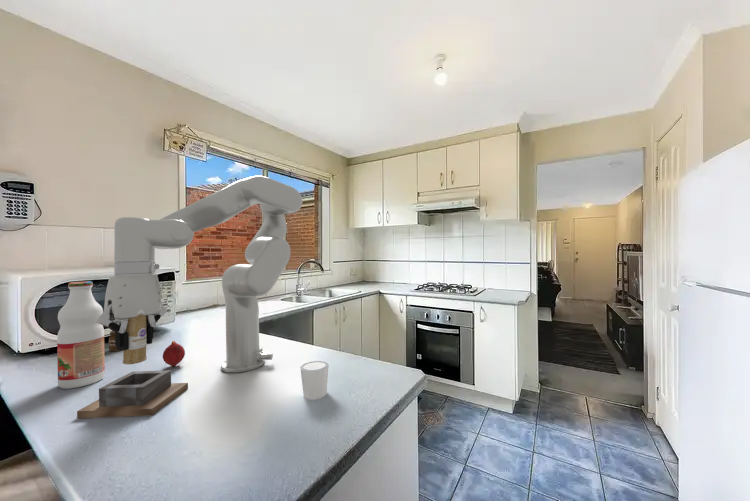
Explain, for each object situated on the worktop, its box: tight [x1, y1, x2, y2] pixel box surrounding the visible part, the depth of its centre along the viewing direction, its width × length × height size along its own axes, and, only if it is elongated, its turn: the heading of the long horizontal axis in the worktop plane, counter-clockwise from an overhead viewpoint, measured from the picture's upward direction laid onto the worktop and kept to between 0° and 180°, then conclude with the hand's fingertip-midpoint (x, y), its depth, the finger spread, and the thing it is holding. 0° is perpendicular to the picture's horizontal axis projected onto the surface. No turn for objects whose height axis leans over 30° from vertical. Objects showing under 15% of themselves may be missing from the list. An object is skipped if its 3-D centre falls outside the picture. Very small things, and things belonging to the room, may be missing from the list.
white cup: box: [300, 360, 330, 401], centre depth 74 cm, size 7×7×7 cm
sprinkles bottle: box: [122, 310, 148, 365], centre depth 71 cm, size 5×5×14 cm
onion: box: [162, 340, 186, 367], centre depth 94 cm, size 6×6×8 cm
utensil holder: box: [108, 319, 121, 352], centre depth 114 cm, size 6×6×12 cm
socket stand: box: [76, 369, 189, 419], centre depth 72 cm, size 16×13×6 cm
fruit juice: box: [56, 280, 106, 390], centre depth 84 cm, size 9×9×28 cm
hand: (134, 345), depth 71 cm, fingers closed on sprinkles bottle, 4 cm apart
